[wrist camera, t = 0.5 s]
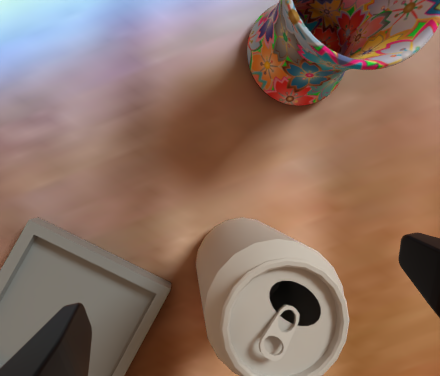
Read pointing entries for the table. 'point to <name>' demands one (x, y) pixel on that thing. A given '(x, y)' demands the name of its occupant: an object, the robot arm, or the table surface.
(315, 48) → the mug
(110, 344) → the slate dish
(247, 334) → the can
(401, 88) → the table surface
